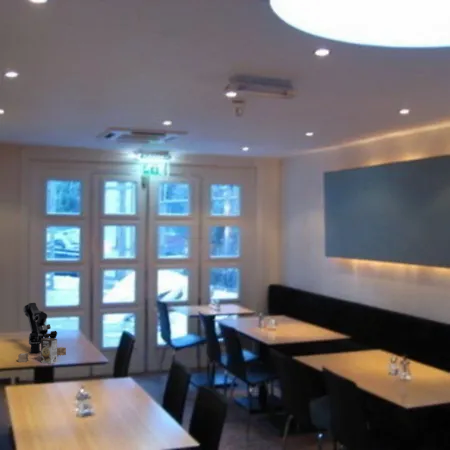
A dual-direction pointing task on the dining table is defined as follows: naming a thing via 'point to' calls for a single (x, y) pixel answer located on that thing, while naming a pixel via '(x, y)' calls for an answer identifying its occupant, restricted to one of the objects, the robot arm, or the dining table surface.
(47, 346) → the coffee box
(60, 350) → the walnut cube
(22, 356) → the walnut cube
